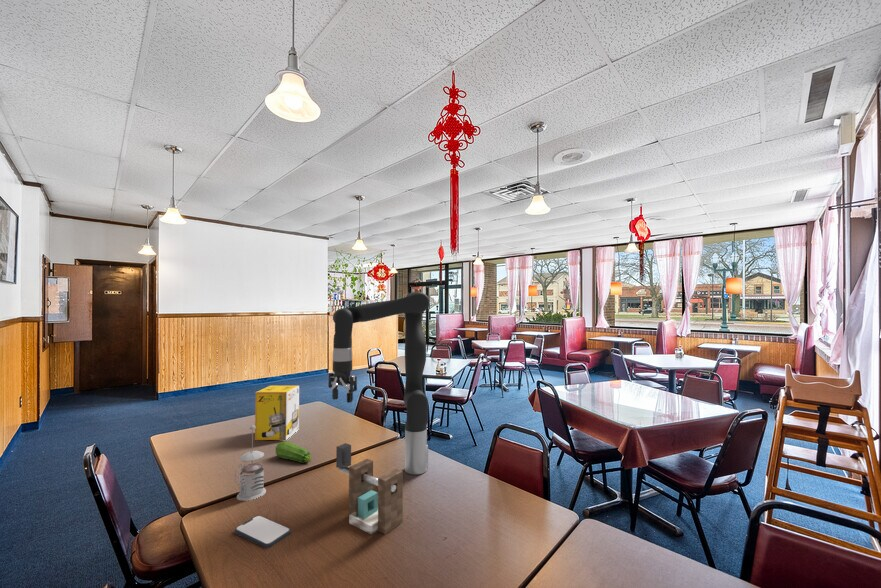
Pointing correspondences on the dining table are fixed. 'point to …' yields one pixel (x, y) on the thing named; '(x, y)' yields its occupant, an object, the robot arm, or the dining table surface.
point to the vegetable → (292, 452)
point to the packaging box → (276, 412)
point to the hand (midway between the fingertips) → (342, 400)
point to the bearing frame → (387, 500)
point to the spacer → (367, 504)
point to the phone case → (262, 531)
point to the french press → (247, 489)
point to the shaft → (345, 460)
